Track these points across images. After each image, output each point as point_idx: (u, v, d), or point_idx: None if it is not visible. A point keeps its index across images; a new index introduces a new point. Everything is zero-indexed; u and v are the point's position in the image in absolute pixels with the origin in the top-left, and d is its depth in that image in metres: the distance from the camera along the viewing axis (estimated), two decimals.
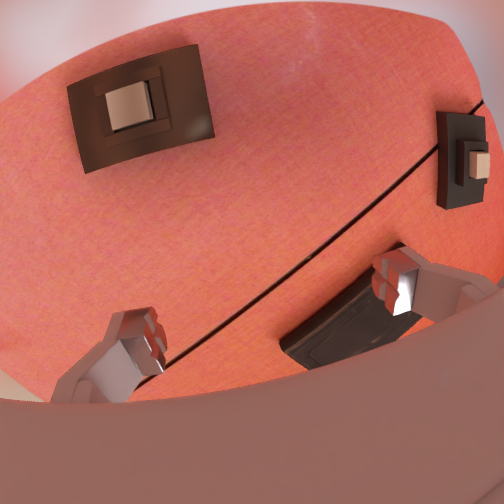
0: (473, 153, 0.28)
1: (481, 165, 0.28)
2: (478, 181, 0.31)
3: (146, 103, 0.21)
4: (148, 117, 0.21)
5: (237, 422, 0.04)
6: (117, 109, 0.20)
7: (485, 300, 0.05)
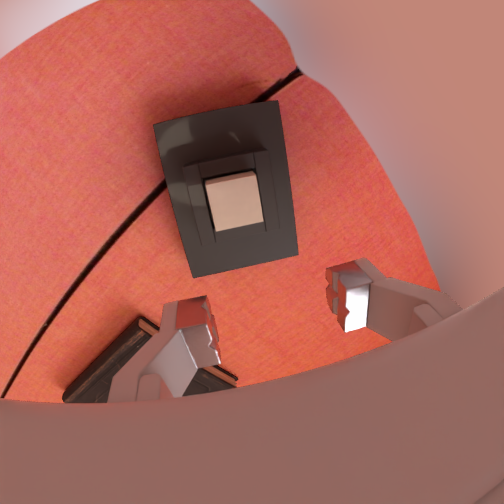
0: None
1: (226, 204, 0.20)
2: (247, 229, 0.23)
3: None
4: None
5: (237, 422, 0.04)
6: None
7: (485, 300, 0.05)
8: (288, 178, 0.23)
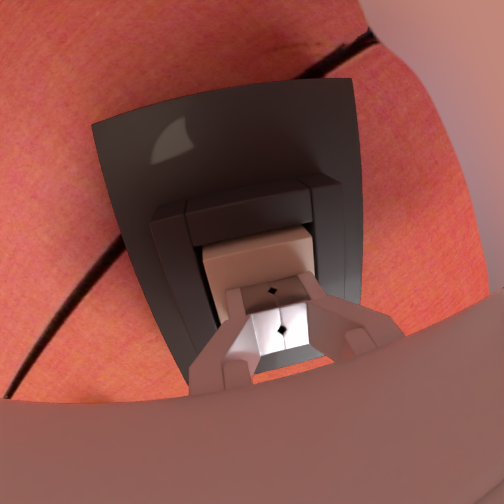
0: None
1: None
2: None
3: None
4: None
5: (237, 422, 0.04)
6: None
7: (485, 300, 0.05)
8: (361, 232, 0.12)
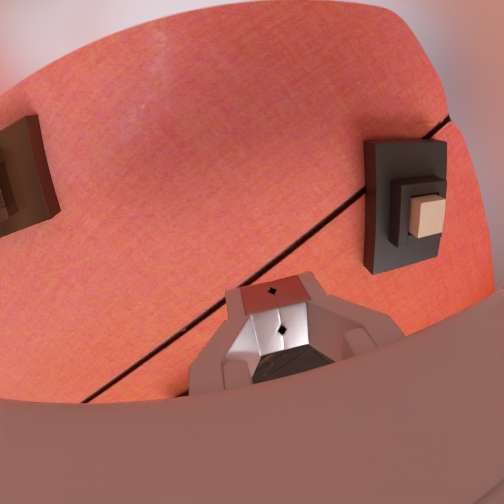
0: (416, 201, 0.23)
1: (428, 218, 0.23)
2: (425, 236, 0.26)
3: None
4: None
5: (237, 422, 0.04)
6: None
7: (485, 300, 0.05)
8: None
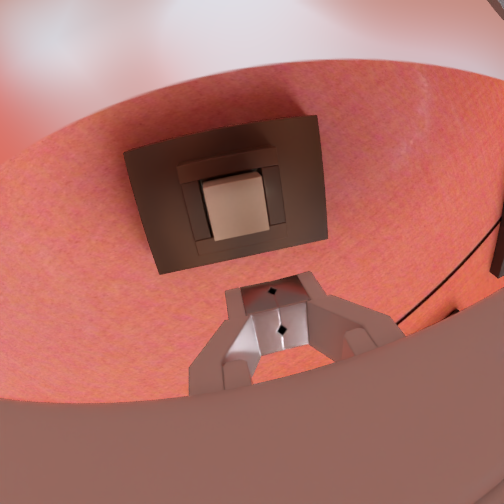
0: None
1: None
2: None
3: (265, 209, 0.18)
4: (267, 228, 0.18)
5: (237, 422, 0.04)
6: (223, 213, 0.18)
7: (485, 300, 0.05)
8: None
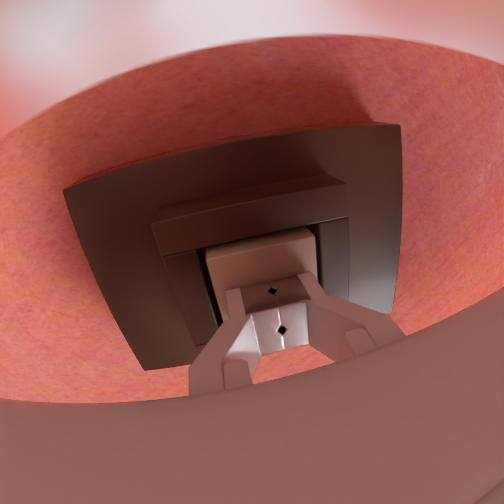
0: None
1: None
2: None
3: None
4: None
5: (237, 422, 0.04)
6: None
7: (485, 300, 0.05)
8: None
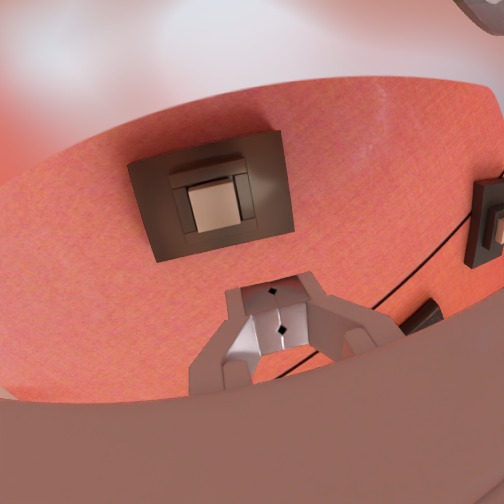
0: (501, 221, 0.30)
1: None
2: None
3: (236, 207, 0.23)
4: (239, 222, 0.24)
5: (237, 422, 0.04)
6: (204, 210, 0.23)
7: (485, 300, 0.05)
8: None
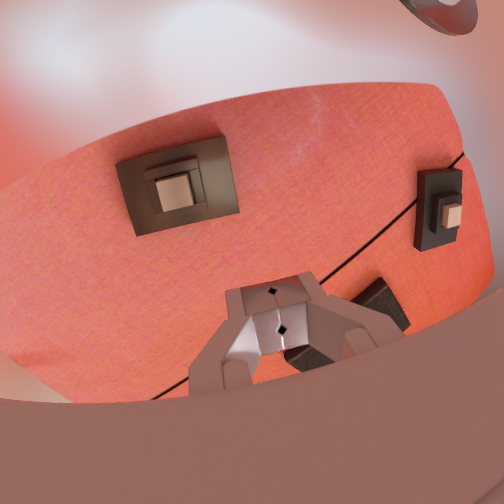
0: (446, 207, 0.39)
1: (452, 217, 0.39)
2: (450, 228, 0.41)
3: (189, 193, 0.31)
4: (191, 204, 0.32)
5: (237, 422, 0.04)
6: (167, 196, 0.31)
7: (485, 300, 0.05)
8: None
